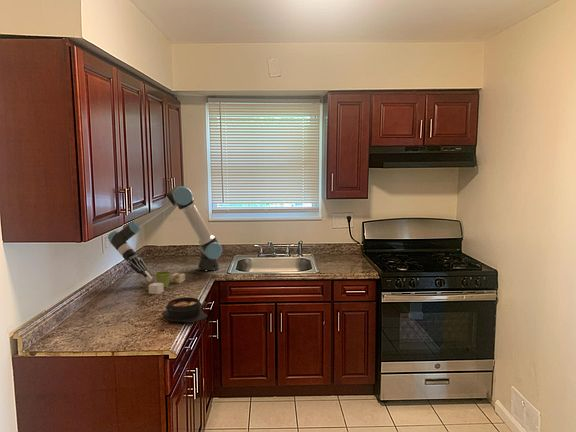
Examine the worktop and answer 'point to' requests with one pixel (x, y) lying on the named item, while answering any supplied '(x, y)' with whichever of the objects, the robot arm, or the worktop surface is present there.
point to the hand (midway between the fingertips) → (150, 280)
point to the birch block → (178, 277)
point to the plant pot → (163, 277)
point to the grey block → (156, 288)
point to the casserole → (184, 310)
